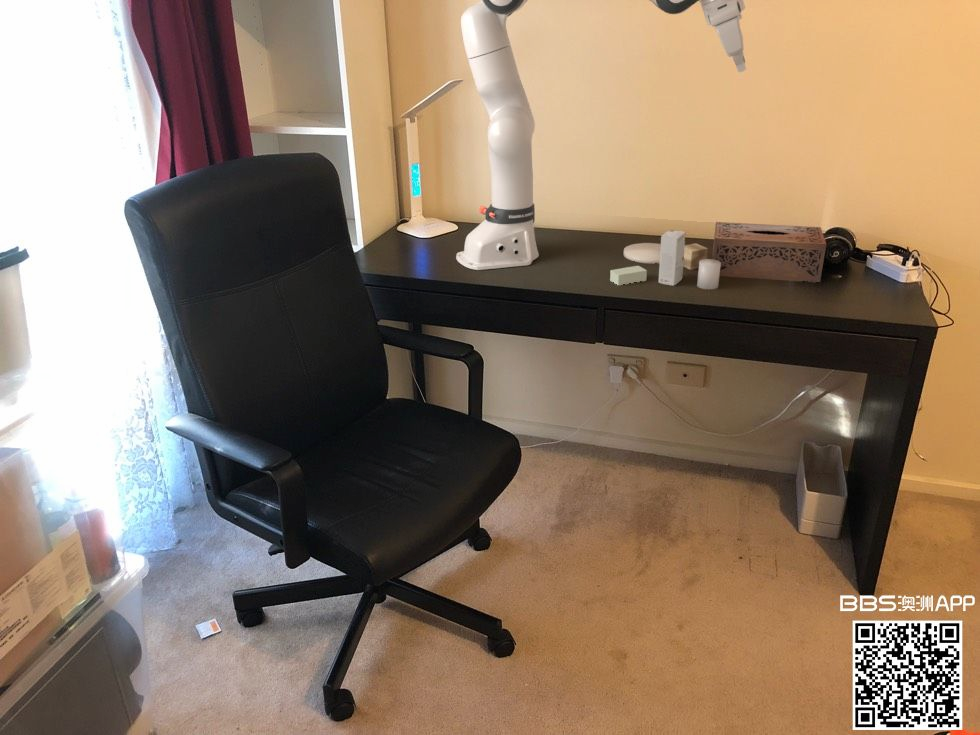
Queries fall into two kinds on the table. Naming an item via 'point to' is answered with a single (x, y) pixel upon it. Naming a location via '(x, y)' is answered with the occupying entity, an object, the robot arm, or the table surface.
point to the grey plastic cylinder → (708, 274)
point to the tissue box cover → (769, 251)
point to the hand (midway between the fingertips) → (742, 67)
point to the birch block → (694, 255)
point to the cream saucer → (643, 253)
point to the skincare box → (671, 257)
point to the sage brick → (628, 275)
